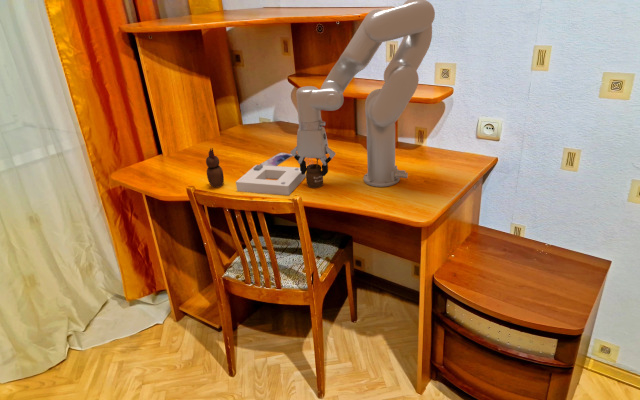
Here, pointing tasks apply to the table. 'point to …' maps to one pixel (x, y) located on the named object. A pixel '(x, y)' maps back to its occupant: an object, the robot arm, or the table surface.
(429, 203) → the table surface
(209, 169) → the wooden figurine
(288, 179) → the socket block
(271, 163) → the smartphone
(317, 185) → the utensil holder
